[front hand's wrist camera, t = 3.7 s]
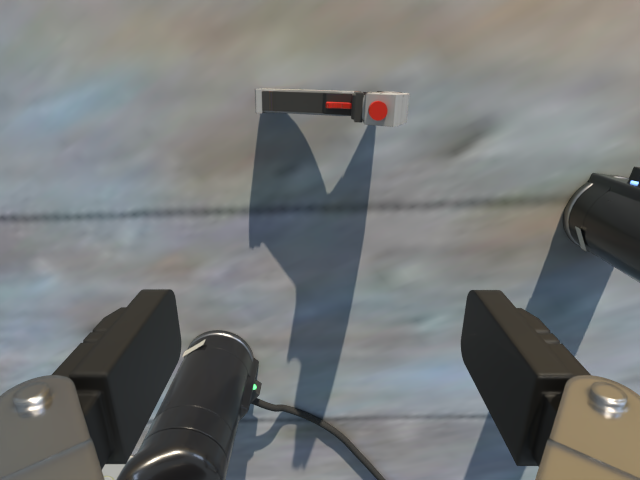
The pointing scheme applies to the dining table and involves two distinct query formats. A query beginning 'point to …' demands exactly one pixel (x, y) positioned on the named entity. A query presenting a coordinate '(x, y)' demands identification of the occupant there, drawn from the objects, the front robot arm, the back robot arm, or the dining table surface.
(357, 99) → the toy gun
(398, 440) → the dining table surface
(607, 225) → the back robot arm
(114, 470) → the invitation card
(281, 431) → the dining table surface
